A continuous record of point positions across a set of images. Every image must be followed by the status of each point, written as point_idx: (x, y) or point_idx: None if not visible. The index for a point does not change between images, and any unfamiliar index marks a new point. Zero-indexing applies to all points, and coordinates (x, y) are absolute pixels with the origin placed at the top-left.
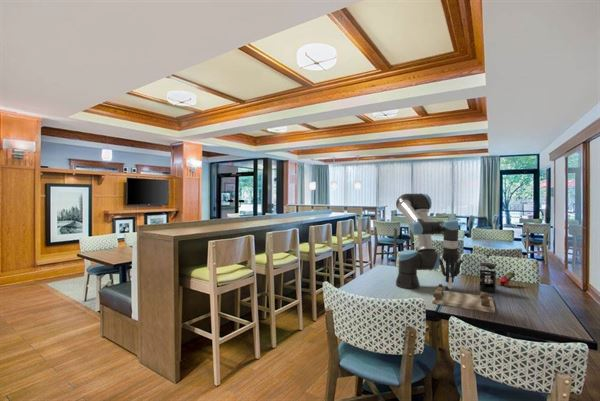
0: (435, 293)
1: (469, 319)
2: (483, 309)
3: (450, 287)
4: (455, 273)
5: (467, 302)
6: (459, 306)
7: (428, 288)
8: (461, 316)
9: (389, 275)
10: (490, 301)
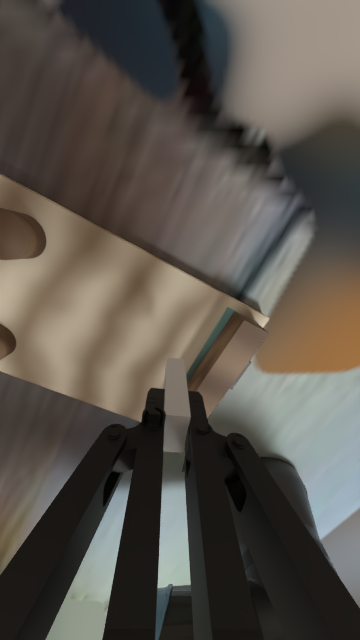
0: (267, 332)
1: (187, 71)
2: (53, 202)
3: (174, 362)
4: (116, 457)
5: (108, 281)
6: (160, 259)
7: None
8: (210, 124)
9: None
10: None
